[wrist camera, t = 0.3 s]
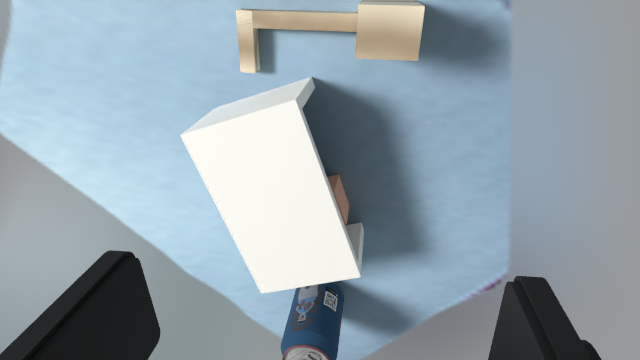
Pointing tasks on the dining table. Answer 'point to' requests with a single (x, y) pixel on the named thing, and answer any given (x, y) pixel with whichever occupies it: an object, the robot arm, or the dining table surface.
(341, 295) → the soda can
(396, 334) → the dining table surface
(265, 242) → the shelf cubby
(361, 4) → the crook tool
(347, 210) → the block
